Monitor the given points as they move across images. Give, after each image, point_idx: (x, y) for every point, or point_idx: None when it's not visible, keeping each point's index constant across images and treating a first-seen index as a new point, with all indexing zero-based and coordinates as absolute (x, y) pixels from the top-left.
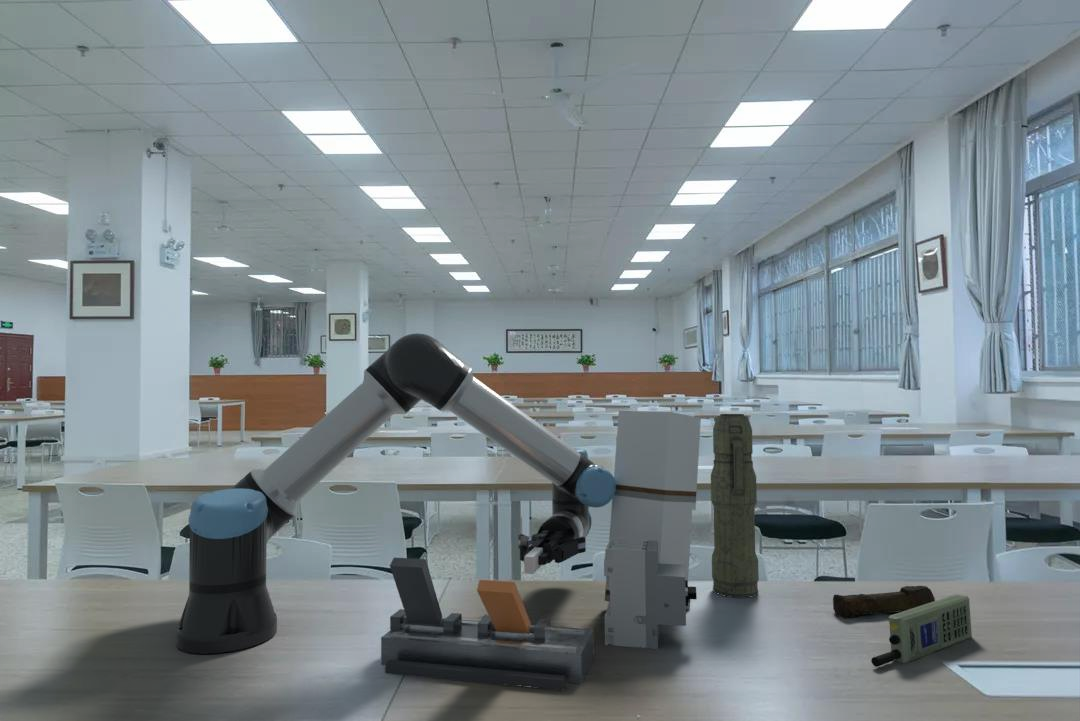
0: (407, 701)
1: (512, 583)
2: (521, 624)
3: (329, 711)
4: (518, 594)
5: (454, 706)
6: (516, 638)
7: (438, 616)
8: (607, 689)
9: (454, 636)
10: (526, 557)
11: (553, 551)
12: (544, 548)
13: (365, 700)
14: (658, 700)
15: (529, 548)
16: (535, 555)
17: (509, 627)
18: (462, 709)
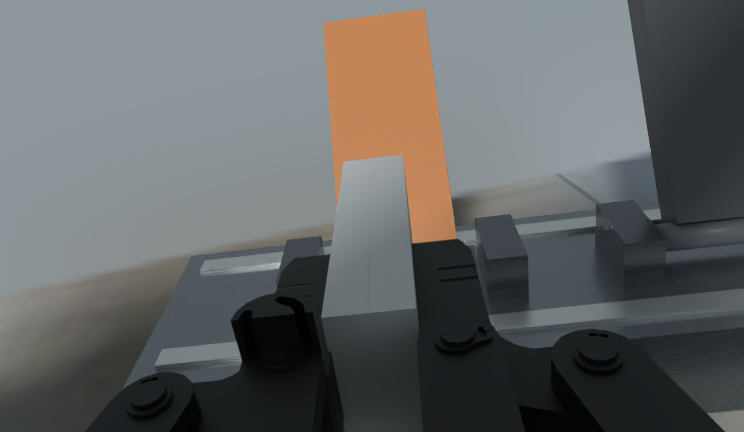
0: (549, 195)
1: (328, 25)
2: None
3: (649, 155)
4: (328, 78)
5: (454, 207)
6: None
7: (662, 196)
8: (151, 315)
9: (583, 238)
10: (388, 161)
11: (216, 384)
12: (306, 332)
13: (627, 180)
14: (51, 309)
15: (479, 324)
16: (341, 191)
17: None
18: None
